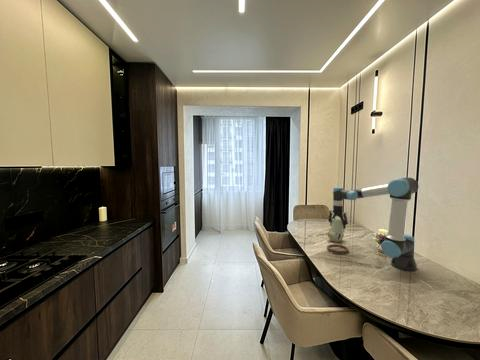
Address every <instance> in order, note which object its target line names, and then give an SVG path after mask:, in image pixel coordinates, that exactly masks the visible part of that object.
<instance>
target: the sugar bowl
mask: <svg viewBox="0 0 480 360" xmlns="http://www.w3.org/2000/svg"><path fill="white" fill-rule="evenodd" d="M344 233H345V232H344ZM344 233H343V234H336V233H333V232H332V230H331V228H329V229H328V231H327V233H326V234H327V236H328V239H329V240H330V241H332V242H333V241H334V242H335V243H340V242H341V240H343V238H344V237H345V234H344Z"/></svg>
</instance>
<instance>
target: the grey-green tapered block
mask: <svg viewBox="0 0 480 360" xmlns="http://www.w3.org/2000/svg"><path fill="white" fill-rule="evenodd" d="M331 219H332V232H333V233H336V234H343V233H342V225H343V223H342V220H341V219H340V217H335V218H331Z"/></svg>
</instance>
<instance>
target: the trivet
mask: <svg viewBox="0 0 480 360" xmlns="http://www.w3.org/2000/svg"><path fill="white" fill-rule="evenodd" d="M326 250H328V251H327V252H329V253H331V252H332V253H331V254H334V255H341V254H342V255H347V254H349V252H350V249H349V247H347V246H345V245H342V244H335V243H334V244H333V243H331V244H328V245H327V246H326Z"/></svg>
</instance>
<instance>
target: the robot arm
mask: <svg viewBox="0 0 480 360" xmlns="http://www.w3.org/2000/svg"><path fill="white" fill-rule="evenodd" d="M419 186H420V185H419V182H418V181H417V180H416V179H415V178H412V177H396V178H394V179H392V180H390V181H389V182H388V183H386V184H381V185H375V186H369V187H364V188H358V189H349V190H347V189H344V188H343V187H342V186H341V187H340V186H335V187H333V189H332V190H333V191H332V194H333V195H332V196H333V200H332V201H333V202H332V210H329V216H328V220H327V221H328V222H329V223H330V224H329V225H330V227H331V228H330V229H331V230H332V218H337V217H338V218H340V219H341V220H342V223H343V225H342V233H345V230H346V225H349V223H348V216H347V212H344V211H343V210H344V209H343V208H344V207H343V204H344V202H343V201H344V200H347V201H356V200H357V199H363V198H372V197H379V196H385V195H386V196H387V195H389V199H390V200H391V204H390V205H391V206H390V213H389V214H390V215H389V222H388V229H387V233H386V234H385V235H384V240H383V241H382V242H381V244H380V248H381V249H380V250H381V251H382V252H383V254H384V255H386V256H387V257H389V258H391V260H390V266H392V267H394V268H396V269H399V270H403V271H408V272H413V271H416V270H417V269H418V265H417V261H416V260H415V237H414V236H413V235H409V234H405V226H406V217H407V212H408V210H407V208H408V203H409V201H411V200H412V195H413V194H414V193H416V192H417V191H418V190H419V188H420V187H419Z"/></svg>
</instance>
